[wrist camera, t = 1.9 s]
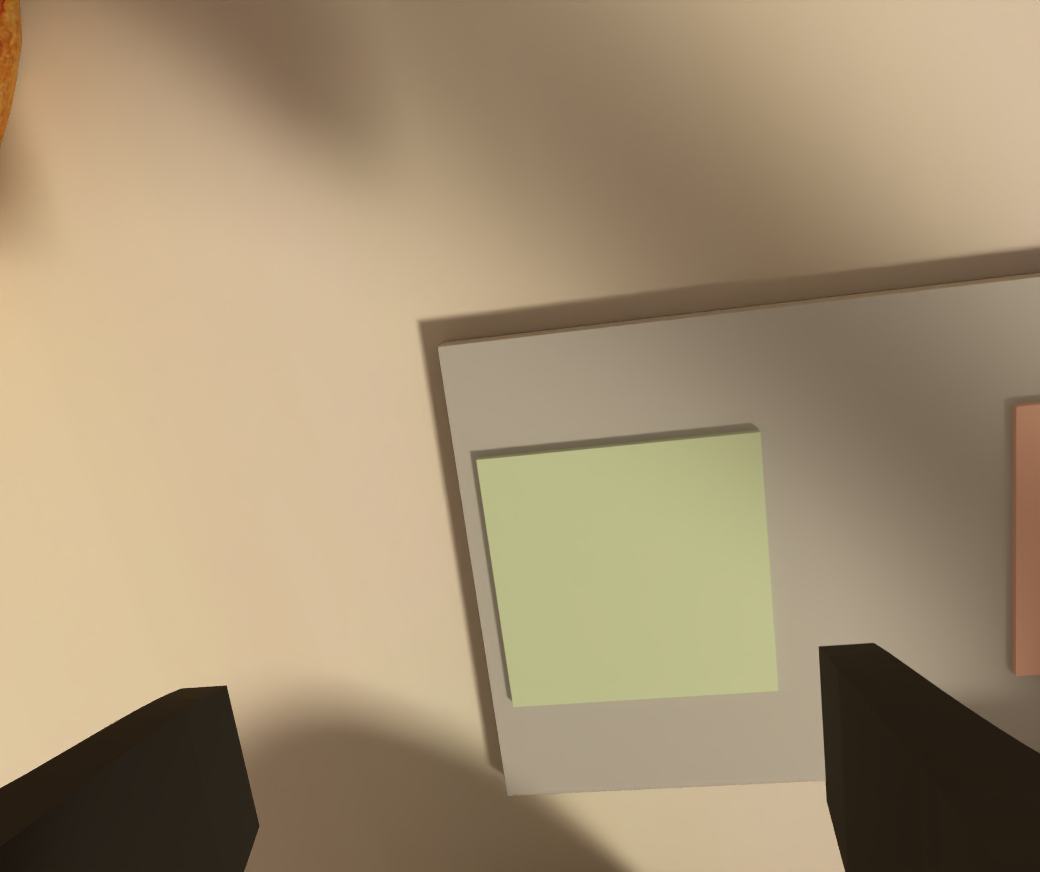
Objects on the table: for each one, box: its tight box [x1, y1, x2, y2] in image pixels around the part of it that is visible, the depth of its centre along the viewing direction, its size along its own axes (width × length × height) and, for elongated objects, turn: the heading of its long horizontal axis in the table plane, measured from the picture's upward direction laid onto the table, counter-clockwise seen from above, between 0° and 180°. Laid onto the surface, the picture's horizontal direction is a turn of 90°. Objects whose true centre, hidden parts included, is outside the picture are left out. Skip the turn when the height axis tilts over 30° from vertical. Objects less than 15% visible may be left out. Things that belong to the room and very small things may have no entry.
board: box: [438, 273, 1040, 796], centre depth 20 cm, size 18×11×1 cm, turn 98°
